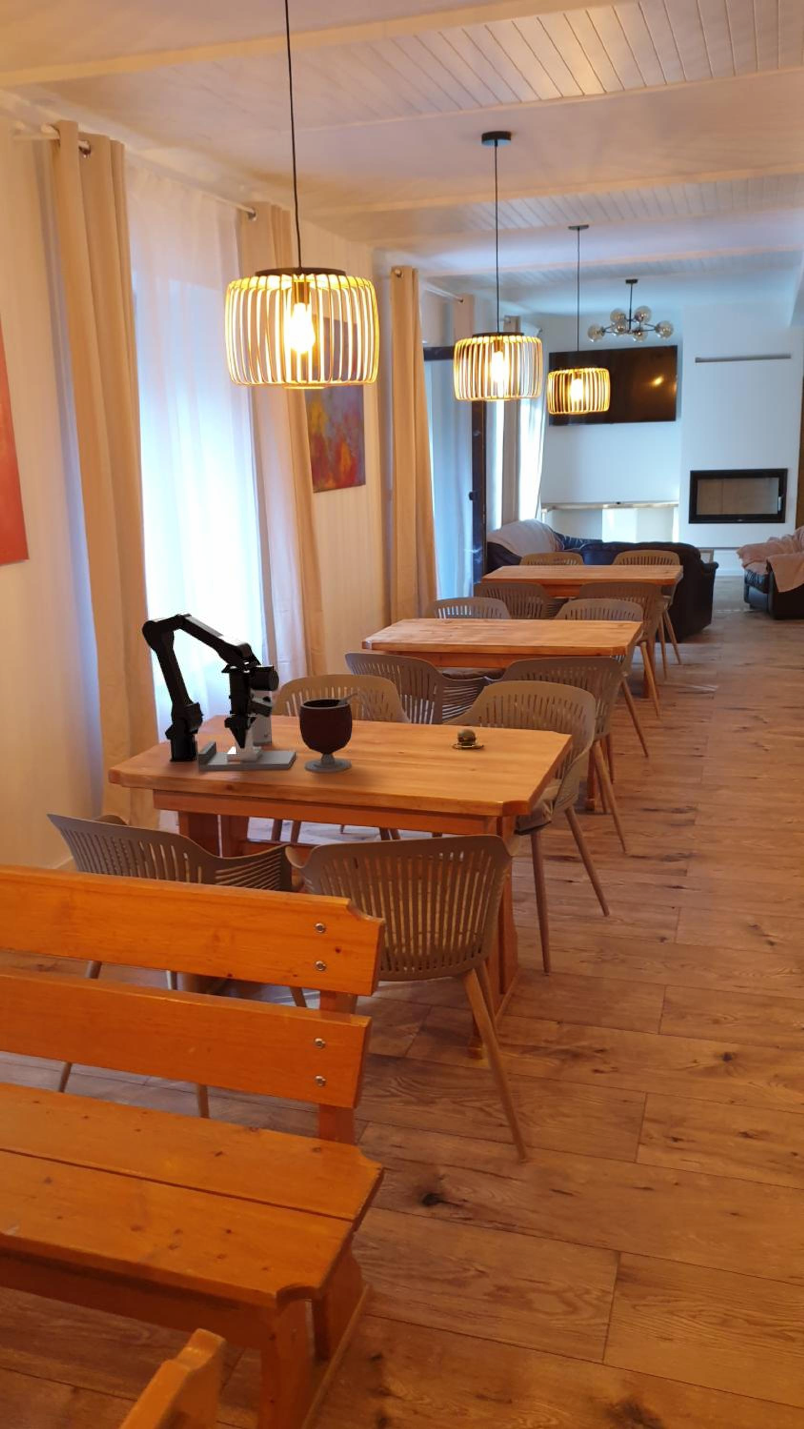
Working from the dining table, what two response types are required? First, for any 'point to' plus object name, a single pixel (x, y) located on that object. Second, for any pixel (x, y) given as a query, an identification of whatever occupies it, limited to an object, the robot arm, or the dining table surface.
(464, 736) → the hamburger
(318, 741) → the mate gourd
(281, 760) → the slide board
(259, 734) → the travel mug
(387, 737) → the dining table surface
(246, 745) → the slider
